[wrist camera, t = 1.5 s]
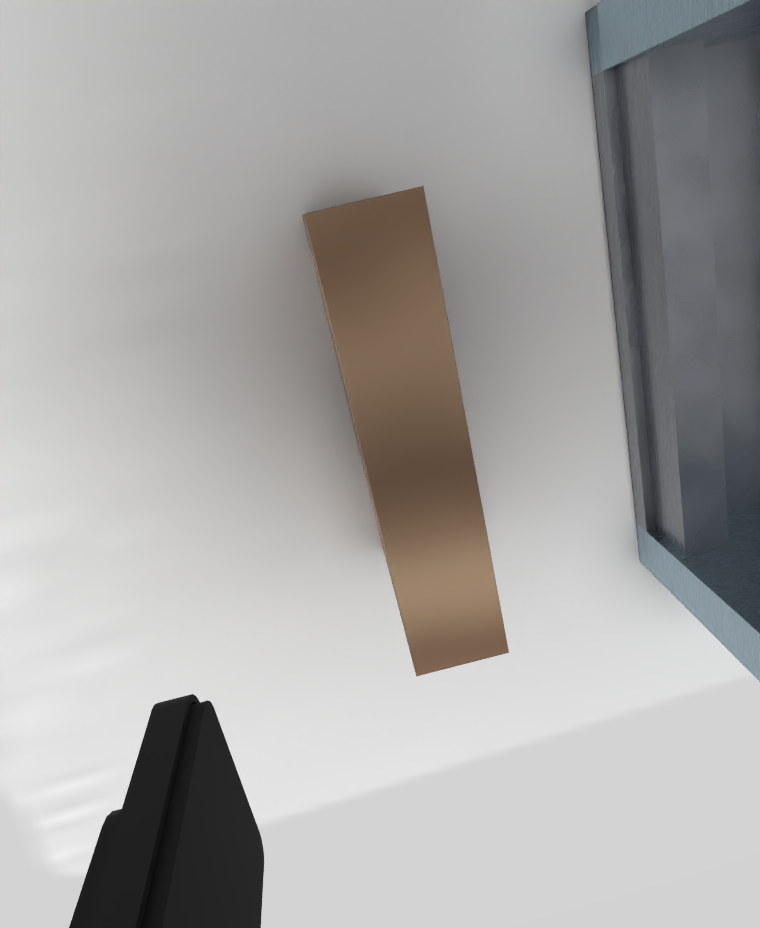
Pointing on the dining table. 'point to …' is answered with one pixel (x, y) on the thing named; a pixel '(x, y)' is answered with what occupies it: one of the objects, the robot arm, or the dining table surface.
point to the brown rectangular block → (410, 422)
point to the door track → (688, 290)
